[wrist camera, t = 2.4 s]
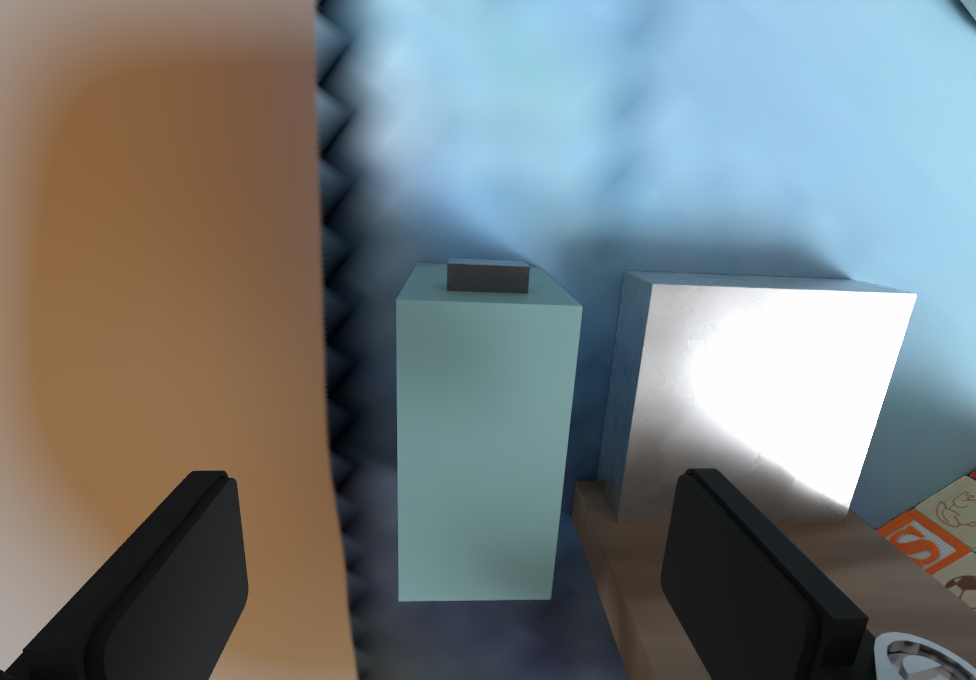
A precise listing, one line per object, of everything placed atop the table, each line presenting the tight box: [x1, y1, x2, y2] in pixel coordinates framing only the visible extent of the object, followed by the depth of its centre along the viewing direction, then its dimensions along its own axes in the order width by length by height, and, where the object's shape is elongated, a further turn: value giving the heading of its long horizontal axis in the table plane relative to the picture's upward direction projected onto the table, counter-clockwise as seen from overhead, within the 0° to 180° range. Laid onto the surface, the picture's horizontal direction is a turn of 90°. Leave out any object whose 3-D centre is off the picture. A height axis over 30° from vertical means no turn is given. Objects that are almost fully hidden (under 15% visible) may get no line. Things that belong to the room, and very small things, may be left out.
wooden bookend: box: [572, 271, 976, 680], centre depth 16 cm, size 12×12×12 cm
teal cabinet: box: [396, 258, 583, 601], centre depth 17 cm, size 11×5×7 cm, turn 177°
